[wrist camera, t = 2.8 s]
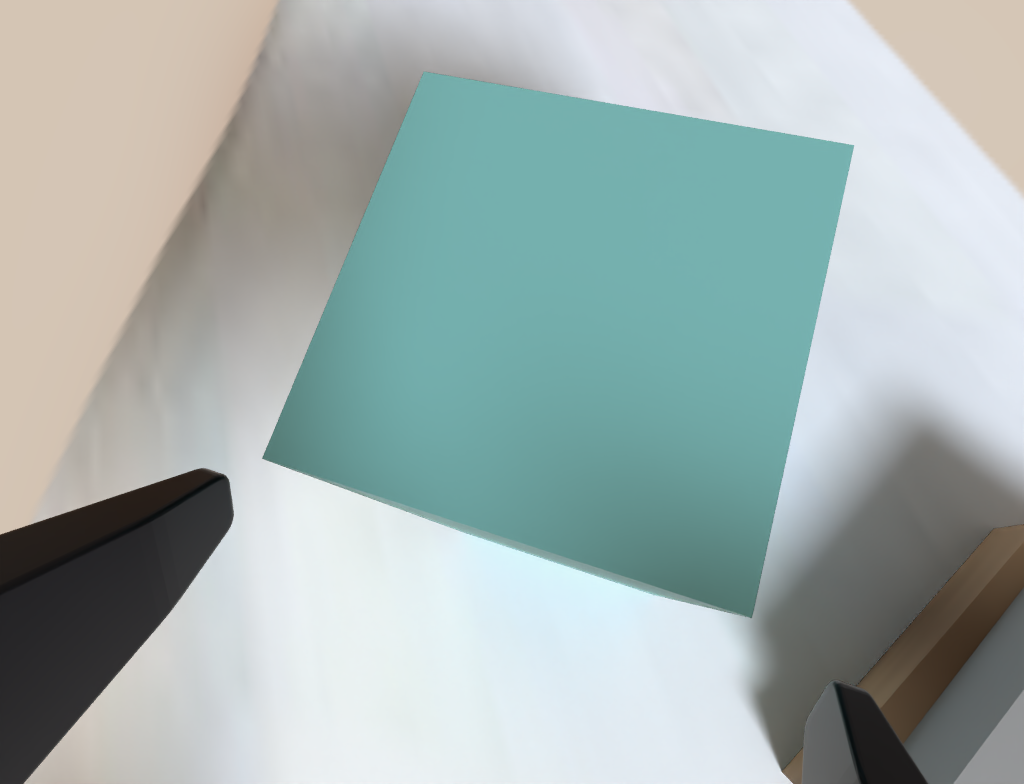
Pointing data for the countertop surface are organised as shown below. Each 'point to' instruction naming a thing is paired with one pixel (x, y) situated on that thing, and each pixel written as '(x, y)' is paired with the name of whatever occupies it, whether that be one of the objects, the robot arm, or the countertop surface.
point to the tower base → (943, 635)
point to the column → (576, 333)
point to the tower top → (979, 714)
